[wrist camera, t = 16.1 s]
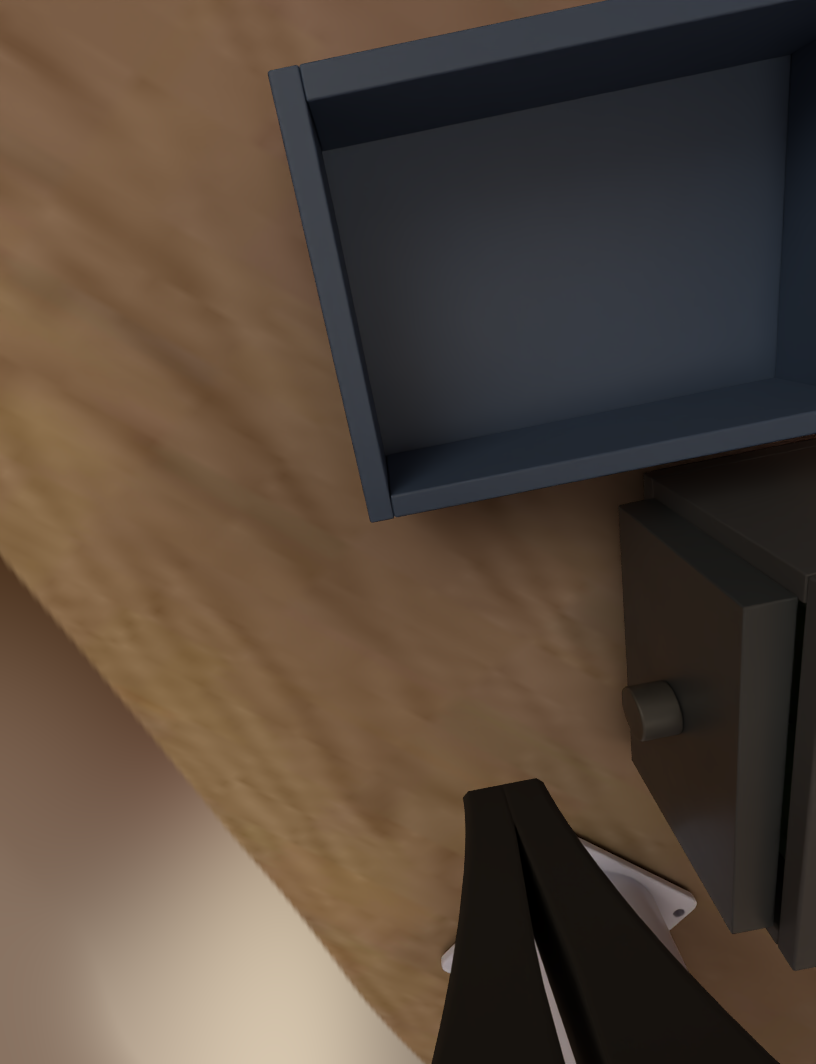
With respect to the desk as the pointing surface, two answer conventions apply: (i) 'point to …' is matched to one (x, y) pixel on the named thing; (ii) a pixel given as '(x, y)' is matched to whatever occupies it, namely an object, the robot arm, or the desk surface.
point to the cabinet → (812, 575)
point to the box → (563, 242)
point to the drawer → (712, 702)
